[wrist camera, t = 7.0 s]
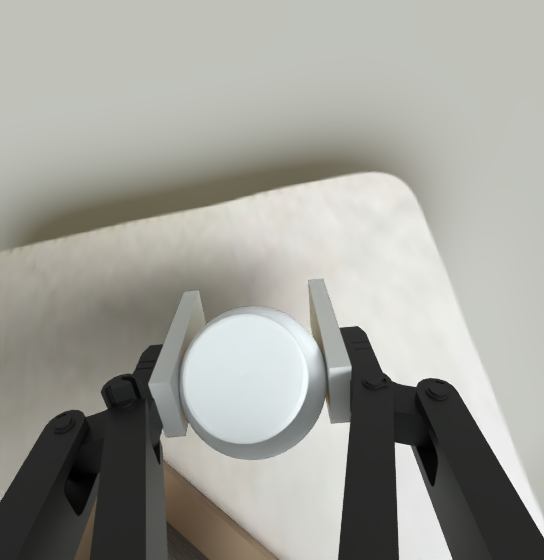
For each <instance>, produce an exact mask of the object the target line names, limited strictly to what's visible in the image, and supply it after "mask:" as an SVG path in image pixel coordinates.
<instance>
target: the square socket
mask: <svg viewBox="0 0 544 560" xmlns="http://www.w3.org/2000/svg"><path fill="white" fill-rule="evenodd" d="M166 530H167V550H168V560H209V559H208V558H207V557H206V556H205V555H204V554H203V553H202V552H201V551H199V550H198V549H197V548H196V547H195V546H194V545H193V544H192V543H191V542H190V541H188V540H187V539H186V538H185V537H184V536H183V535H182V534H181V533H180V532H179V531H177V530H176V529H175V528H174V527H173V526H172V525H171V524H170V523H169V522H168V521H166Z"/></svg>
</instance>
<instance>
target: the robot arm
mask: <svg viewBox="0 0 544 560" xmlns="http://www.w3.org/2000/svg"><path fill="white" fill-rule="evenodd" d="M308 286H309V305H310V325H311V330H312V334H313V338H314V339H315V341H316V343H317V344H318V346H319V349H320V351H321V353H322V356H323V359H324V363H325V368H326V376H327V390H326V397H325V398H326V402H327V407H328V412H329V417H330V422H331V424H333V423H345V422H350V432H349V443H348V454H347V466H346V477H345V488H344V499H343V510H342V522H341V533H340V544H339V555H338V560H399V548H398V521H397V494H396V468H395V442H397V443H401V444H406V445H411V447H412V450H413V453H414V456H415V458H416V461H417V464H418V466H419V469H420V472H421V475H422V477H423V480H424V483H425V485H426V488H427V491H428V494H429V496H430V499H431V502H432V504H433V507H434V510H435V513H436V515H437V518H438V521H439V523H440V526H441V529H442V532H443V534H444V537H445V540H446V542H447V545H448V548H449V551H450V553H451V556H452V559H453V560H544V538H543V536H542V534H541V533H540V531H539V529H538V527H537V526H536V524H535V522H534V521H533V519H532V517H531V516H530V514H529V512H528V510H527V509H526V507H525V505H524V504H523V502H522V500H521V499H520V497H519V495H518V493H517V492H516V490H515V488H514V487H513V485H512V483H511V482H510V480H509V478H508V477H507V475H506V473H505V471H504V470H503V468H502V466H501V465H500V463H499V461H498V460H497V458H496V456H495V454H494V453H493V451H492V449H491V448H490V446H489V444H488V443H487V441H486V439H485V437H484V436H483V434H482V432H481V431H480V429H479V427H478V426H477V424H476V422H475V420H474V419H473V417H472V415H471V414H470V412H469V410H468V409H467V407H466V405H465V403H464V402H463V400H462V398H461V397H460V395H459V393H458V392H457V390H456V389H455V388H454V387H453V386H452V385H451V384H449V383H448V382H446V381H443V380H440V379H434V378H428V379H424V380H422V381H420V382H419V383H418V385H417V387H412V386H405V385H401V384H397V383H395V382H393V381H391V379H390V378H389V377H388V376H387V375H386V374H384V373H383V372H382V370H381V368H380V365H379V363H378V361H377V358H376V356H375V354H374V351H373V349H372V347H371V344H370V342H369V340H368V337H367V335H366V333H365V332H364V331H363V330H362V329H361V328H359V327H358V326H355V327H344V328H339V326H338V323H337V320H336V317H335V314H334V311H333V307H332V304H331V301H330V298H329V295H328V292H327V289H326V286H325V283H324V280H323V279H314V280H308ZM205 325H206V321H205V317H204V312H203V307H202V302H201V298H200V293H199V290H195V291H185V292H184V293H183V296H182V298H181V301H180V303H179V306H178V309H177V311H176V314H175V316H174V319H173V321H172V324H171V327H170V329H169V332H168V334H167V337H166V339H165V342H164V344H163V345H151V346H149V347H148V348H147V349H146V350H145V351H144V352H143V353H142V355H141V357H140V360H139V363H138V364H137V366H136V368H135V371H134V373H133V374H123V375H120V376H117V377H114V378H113V379H111V380H110V381H108V382H107V383H106V384H105V385H104V386H103V388H102V390H101V394H102V396H103V399H104V401H105V404H106V406H107V408H108V409H107V410H105V411H103V412H100V413H97V414H94V415H91V416H88V417H85V416H84V414H83V412H81V411H79V410H70V411H66V412H63V413H61V414H59V415H57V416H56V417H55V418H53V419H52V420H51V421H50V422H49V423H48V424H47V425H46V426H45V428H44V430H43V431H42V433H41V435H40V436H39V438H38V440H37V441H36V443H35V445H34V446H33V448H32V450H31V451H30V453H29V455H28V456H27V458H26V460H25V461H24V463H23V465H22V466H21V468H20V470H19V471H18V473H17V475H16V476H15V478H14V480H13V482H12V483H11V485H10V487H9V488H8V490H7V492H6V493H5V495H4V497H3V498H2V500H1V502H0V560H74V558H75V555H76V552H77V550H78V547H79V544H80V541H81V539H82V536H83V533H84V531H85V528H86V525H87V522H88V520H89V517H90V514H91V511H92V509H93V506H94V503H95V501H96V498H97V503H96V511H95V519H94V527H93V536H92V544H91V552H90V560H168V550H167V530H166V510H165V490H164V471H163V451H162V444H161V441H160V435H161V432H162V428H163V430H164V433H165V436H166V437H178V436H186V432H187V427H188V423H189V421H188V420H187V417H186V415H185V413H184V410H183V407H182V403H181V398H180V392H179V377H180V370H181V365H182V361H183V358H184V355H185V353H186V351H187V348H188V346H189V345H190V343H191V341H192V340H193V338H194V337H195V336H196V334H197V333H198V332H199V331H200V330H201V329H202V328H203V327H204V326H205Z"/></svg>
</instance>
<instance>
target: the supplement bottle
mask: <svg viewBox="0 0 544 560" xmlns="http://www.w3.org/2000/svg"><path fill="white" fill-rule="evenodd" d="M326 390H327V376H326V368H325V363H324V359H323V356H322V353H321V351H320V349H319V346H318V344H317V343H316V341H315V339H314V338H313V336H312V335H311V334H310V332H309V331H308V330H307V329H306V328H305V327H304V326H303V325H302V324H301V323H299V322H298V321H297V320H296V319H294V318H293V317H291V316H289V315H288V314H286V313H284V312H281V311H279V310H276V309H273V308H268V307H262V306H246V307H240V308H236V309H232V310H229V311H227V312H225V313H222V314H220V315H218V316H217V317H215V318H214V319H212V320H211V321H210V322H208V323H207V324H206V325H205V326H204V327H203V328H202V329H201V330H200V331H199V332H198V333H197V334H196V336H195V337H194V338H193V340H192V341H191V343H190V345H189V346H188V348H187V351H186V353H185V355H184V358H183V361H182V365H181V370H180V377H179V392H180V398H181V403H182V407H183V410H184V413H185V415H186V417H187V420H188V421H189V423H190V425H191V427H192V428H193V429H194V431H195V432H196V433H197V435H198V436H199V437H200V438H201V439H202V440H203V441H204V442H205V443H207V444H208V445H209V446H210V447H212V448H213V449H215V450H217V451H218V452H220V453H223V454H225V455H227V456H230V457H234V458H238V459H246V460H258V459H266V458H270V457H273V456H276V455H279V454H281V453H284V452H286V451H287V450H289V449H291V448H292V447H294V446H295V445H296V444H298V443H299V442H300V441H301V440H302V439H303V438H304V437H305V436H306V435H307V434H308V433H309V432H310V430H311V429H312V428H313V426H314V424H315V423H316V421H317V419H318V418H319V415H320V413H321V410H322V408H323V405H324V401H325V397H326Z"/></svg>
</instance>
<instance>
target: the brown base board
mask: <svg viewBox="0 0 544 560" xmlns="http://www.w3.org/2000/svg"><path fill="white" fill-rule="evenodd" d="M163 471H164V490H165V510H166V521H168V522H169V523H170V524H171V525H172V526H173V527H174V528H175V529H176V530H177V531H179V532H180V533H181V534H182V535H183V536H184V537H185V538H186V539H187V540H188V541H190V542H191V543H192V544H193V545H194V546H195V547H196V548H197V549H198V550H199V551H201V552H202V553H203V554H204V555H205V556H206V557H207V558H208V559H209V560H279V559H277V558H276V557H275V556H274V555H273V554H272V553H270V552H269V551H268V550H267V549H266V548H265V547H264V546H262V545H261V544H260V543H259V542H258V541H257V540H255V539H254V538H253V537H252V536H251V535H250V534H248V533H247V532H246V531H245V530H244V529H243V528H242V527H240V526H239V525H238V524H237V523H236V522H235V521H233V520H232V519H231V518H230V517H229V516H228V515H226V514H225V513H224V512H223V511H222V510H221V509H220V508H218V507H217V506H216V505H215V504H214V503H213V502H211V501H210V500H209V499H208V498H207V497H206V496H204V495H203V494H202V493H201V492H200V491H199V490H197V489H196V488H195V487H194V486H193V485H192V484H191V483H189V482H188V481H187V480H186V479H185V478H184V477H182V476H181V475H180V474H179V473H178V472H177V471H175V470H174V469H173V468H172V467H171V466H170V465H169V464H167V463H166V462H165V461H164V460H163ZM96 503H97V499H96V501H95V503H94V506H93V509H92V511H91V514H90V517H89V520H88V522H87V525H86V528H85V531H84V533H83V536H82V539H81V541H80V544H79V547H78V550H77V552H76V555H75V558H74V560H90V552H91V544H92V536H93V527H94V519H95V511H96Z"/></svg>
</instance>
